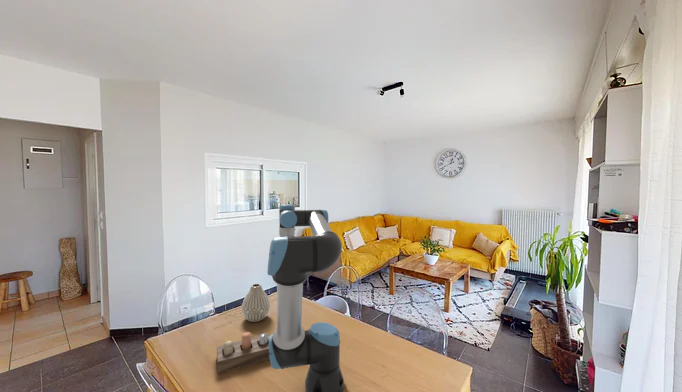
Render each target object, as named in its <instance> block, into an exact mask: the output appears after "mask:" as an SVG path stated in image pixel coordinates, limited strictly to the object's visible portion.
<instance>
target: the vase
mask: <svg viewBox="0 0 682 392" xmlns="http://www.w3.org/2000/svg"><path fill="white" fill-rule="evenodd" d="M270 308H271V301H270V298H269V296H268V294H267V292H265V290H264V289H263V287H262V284H261V283H253V284H252V285H251V286H250V288H249V290H248V292H247V294H246V295H245V296H244V299H243V301H242V304H241V312H242V316H243V317H244V319H246V320H247V321H248V322H251V323H257V322H261V321H263V320H264V319H265V318H266V317H268V314H269V312H270Z"/></svg>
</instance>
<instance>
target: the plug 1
mask: <svg viewBox="0 0 682 392" xmlns="http://www.w3.org/2000/svg"><path fill="white" fill-rule="evenodd" d="M233 342H234V341H233V340H228V341H225V342H224V343H223V345H224V355H227V354H231V353H233Z"/></svg>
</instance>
